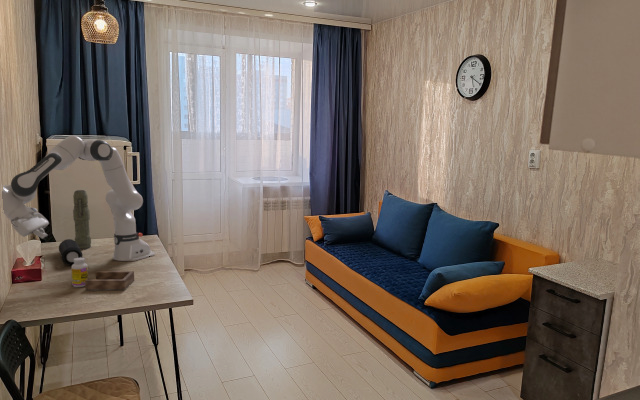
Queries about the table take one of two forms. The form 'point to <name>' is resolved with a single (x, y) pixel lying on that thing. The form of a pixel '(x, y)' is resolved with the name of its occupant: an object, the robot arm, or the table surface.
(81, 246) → the thermos
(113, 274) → the wooden tray
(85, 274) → the supplement bottle
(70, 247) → the portable speaker
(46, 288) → the table surface
